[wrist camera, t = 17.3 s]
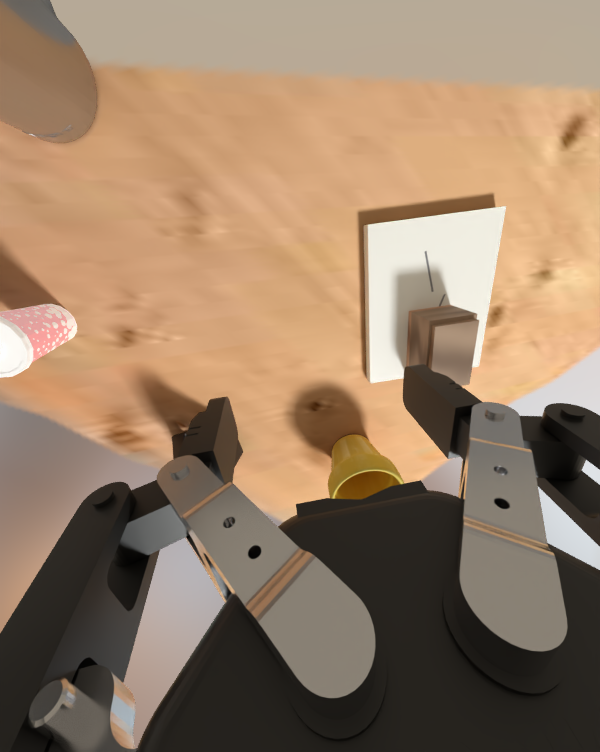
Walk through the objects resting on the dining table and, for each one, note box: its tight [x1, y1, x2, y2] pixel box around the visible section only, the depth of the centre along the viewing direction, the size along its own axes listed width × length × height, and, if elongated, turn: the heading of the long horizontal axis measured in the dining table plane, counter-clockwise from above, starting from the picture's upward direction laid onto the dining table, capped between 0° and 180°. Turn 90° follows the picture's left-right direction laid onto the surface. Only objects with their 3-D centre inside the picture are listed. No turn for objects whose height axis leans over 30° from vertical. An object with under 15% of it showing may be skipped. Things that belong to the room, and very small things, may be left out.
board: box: [364, 206, 506, 383], centre depth 37 cm, size 20×16×2 cm
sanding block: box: [406, 305, 479, 386], centre depth 35 cm, size 9×6×6 cm, turn 7°
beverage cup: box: [0, 304, 77, 378], centre depth 28 cm, size 6×6×14 cm
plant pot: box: [328, 434, 404, 499], centre depth 42 cm, size 10×10×10 cm
